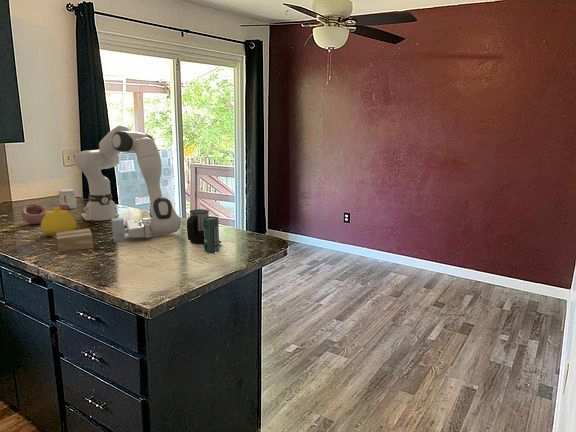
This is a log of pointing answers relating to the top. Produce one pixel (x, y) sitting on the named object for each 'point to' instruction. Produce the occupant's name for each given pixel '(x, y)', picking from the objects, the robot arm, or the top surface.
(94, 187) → the robot arm
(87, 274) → the top surface
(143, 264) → the top surface
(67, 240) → the maple block
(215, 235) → the can
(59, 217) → the teapot
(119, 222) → the gray block
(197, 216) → the milk frother
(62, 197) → the ink box
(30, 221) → the mortar and pestle
